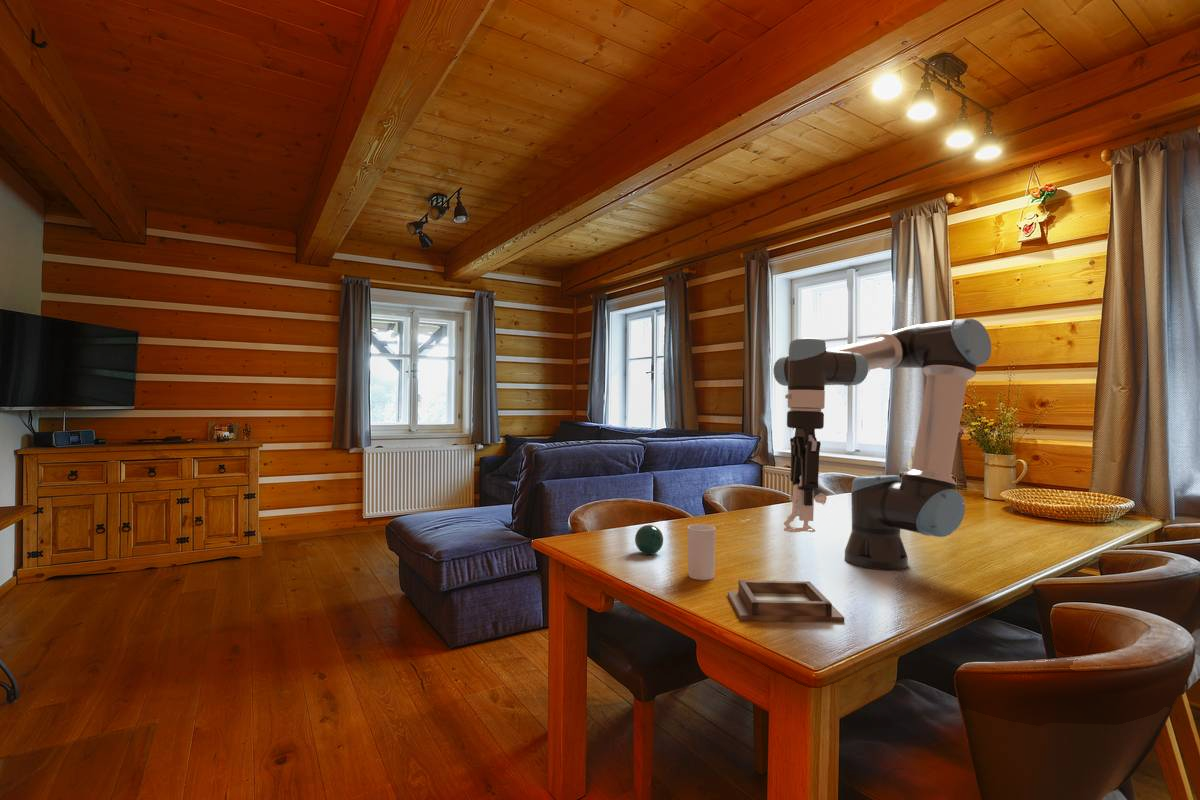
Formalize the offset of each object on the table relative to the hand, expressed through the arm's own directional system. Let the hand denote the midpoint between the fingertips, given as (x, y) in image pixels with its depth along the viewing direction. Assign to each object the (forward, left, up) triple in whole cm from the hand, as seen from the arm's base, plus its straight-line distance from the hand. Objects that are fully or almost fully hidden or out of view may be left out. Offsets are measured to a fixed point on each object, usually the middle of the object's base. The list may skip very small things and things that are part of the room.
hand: (802, 517), depth 123 cm
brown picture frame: (+6, +5, -18) cm, 19 cm away
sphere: (+32, -35, -18) cm, 50 cm away
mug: (+20, -17, -18) cm, 31 cm away
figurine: (0, 0, -3) cm, 3 cm away
